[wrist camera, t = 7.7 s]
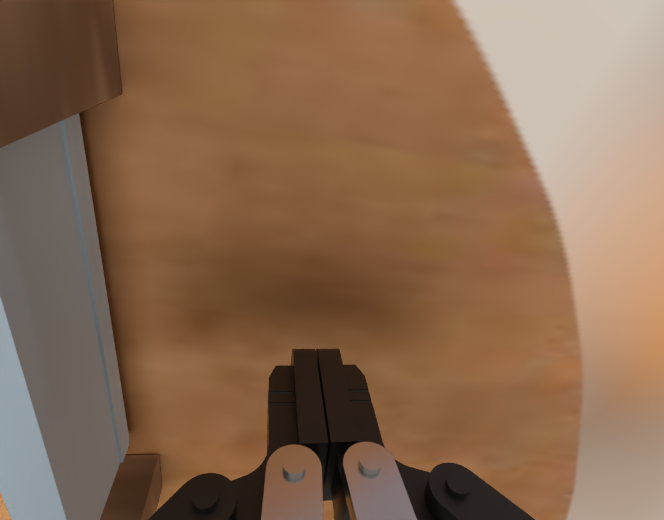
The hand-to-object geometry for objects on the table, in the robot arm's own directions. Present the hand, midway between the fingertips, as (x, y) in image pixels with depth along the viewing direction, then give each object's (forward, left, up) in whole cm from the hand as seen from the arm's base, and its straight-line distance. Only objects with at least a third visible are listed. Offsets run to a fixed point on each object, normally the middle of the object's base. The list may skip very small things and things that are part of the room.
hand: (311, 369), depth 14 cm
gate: (0, +8, -3) cm, 8 cm away
